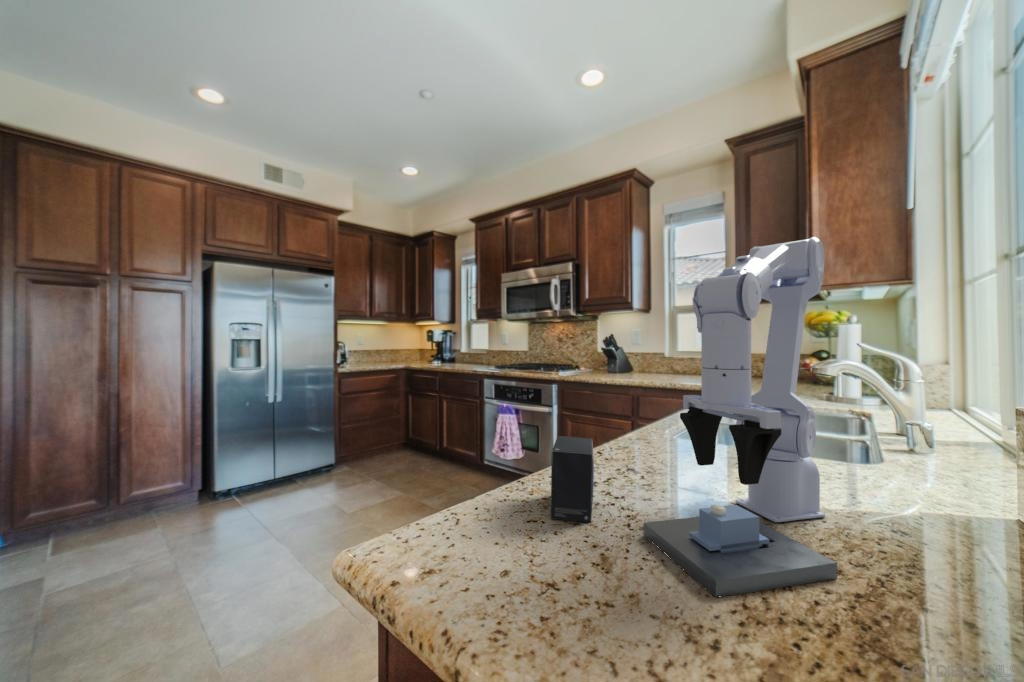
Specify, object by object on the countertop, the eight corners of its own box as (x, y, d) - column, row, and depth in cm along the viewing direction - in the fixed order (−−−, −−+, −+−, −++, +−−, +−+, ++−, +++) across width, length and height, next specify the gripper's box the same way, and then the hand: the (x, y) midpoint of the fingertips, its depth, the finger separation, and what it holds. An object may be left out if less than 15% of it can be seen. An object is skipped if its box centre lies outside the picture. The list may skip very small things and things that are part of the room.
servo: (747, 544, 54) (747, 497, 54) (771, 559, 50) (771, 508, 50) (689, 551, 52) (689, 503, 52) (710, 567, 48) (710, 515, 48)
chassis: (741, 524, 60) (741, 512, 60) (837, 578, 46) (837, 562, 46) (643, 535, 56) (643, 522, 56) (715, 597, 42) (715, 580, 42)
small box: (593, 524, 59) (593, 453, 60) (549, 520, 61) (549, 450, 61) (593, 497, 70) (593, 436, 70) (556, 494, 71) (556, 435, 71)
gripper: (664, 365, 58) (664, 459, 58) (744, 373, 44) (744, 496, 44) (706, 364, 60) (706, 456, 60) (796, 371, 46) (796, 491, 46)
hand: (725, 473), depth 52 cm, fingers open, 7 cm apart
